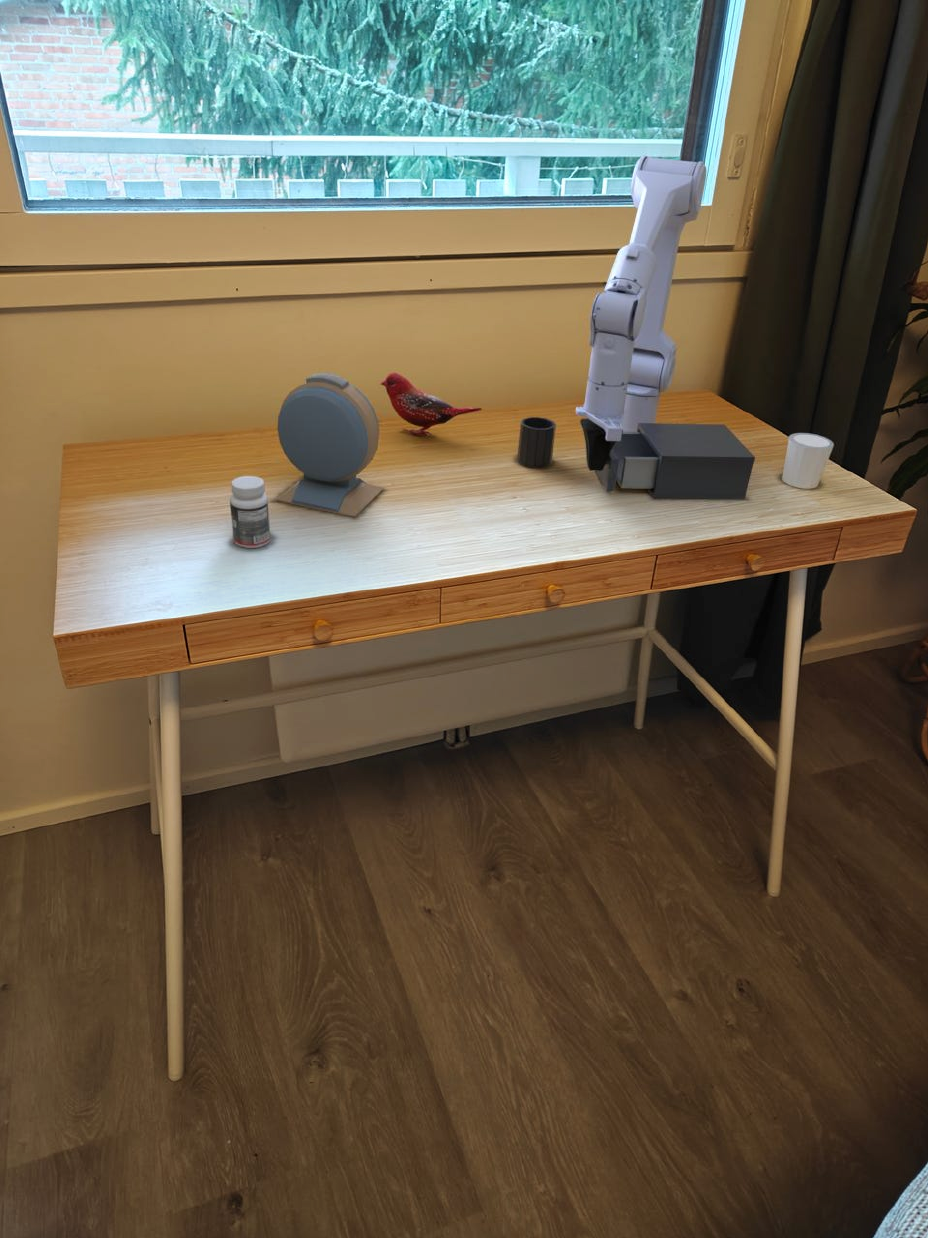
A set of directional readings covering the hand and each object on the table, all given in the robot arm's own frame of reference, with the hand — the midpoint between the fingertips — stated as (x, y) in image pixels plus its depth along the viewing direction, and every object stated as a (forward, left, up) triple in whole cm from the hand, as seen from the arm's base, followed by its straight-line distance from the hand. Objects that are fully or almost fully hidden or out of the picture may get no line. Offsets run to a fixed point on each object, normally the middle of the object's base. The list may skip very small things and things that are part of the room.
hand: (595, 468), depth 134 cm
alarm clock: (-1, -40, -4) cm, 40 cm away
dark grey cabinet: (-3, +16, -4) cm, 17 cm away
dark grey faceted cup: (-11, -6, -4) cm, 13 cm away
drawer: (-3, +8, -3) cm, 9 cm away
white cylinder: (-1, +35, -4) cm, 36 cm away
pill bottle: (+12, -51, -4) cm, 52 cm away
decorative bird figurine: (-23, -22, -4) cm, 32 cm away
